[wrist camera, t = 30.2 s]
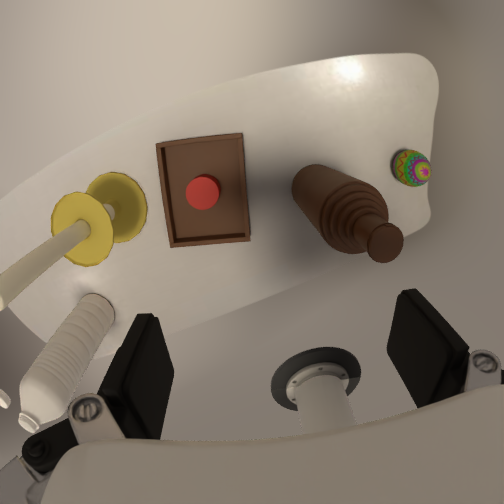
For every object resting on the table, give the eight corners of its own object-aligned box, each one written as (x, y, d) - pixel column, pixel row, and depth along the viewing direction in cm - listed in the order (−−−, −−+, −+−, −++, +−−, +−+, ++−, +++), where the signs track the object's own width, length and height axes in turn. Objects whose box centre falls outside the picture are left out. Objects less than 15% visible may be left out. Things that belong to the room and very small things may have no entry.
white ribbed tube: (122, 319, 44) (60, 446, 20) (96, 330, 44) (33, 444, 21) (92, 275, 40) (1, 389, 17) (67, 289, 41) (-18, 393, 18)
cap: (219, 172, 35) (218, 175, 33) (222, 203, 37) (221, 208, 34) (188, 175, 35) (183, 178, 33) (191, 206, 37) (187, 211, 34)
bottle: (339, 211, 38) (418, 282, 19) (292, 214, 38) (340, 293, 19) (338, 163, 36) (429, 197, 17) (290, 165, 36) (344, 199, 17)
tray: (249, 234, 39) (250, 241, 37) (174, 241, 39) (170, 247, 37) (241, 133, 34) (241, 133, 32) (160, 143, 34) (155, 143, 32)
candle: (88, 242, 38) (-33, 359, 13) (81, 174, 35) (-76, 243, 10) (150, 243, 39) (49, 390, 14) (146, 170, 35) (-6, 244, 10)
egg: (390, 185, 37) (412, 194, 31) (386, 150, 35) (408, 154, 29) (418, 180, 37) (442, 188, 31) (414, 147, 35) (438, 150, 29)
